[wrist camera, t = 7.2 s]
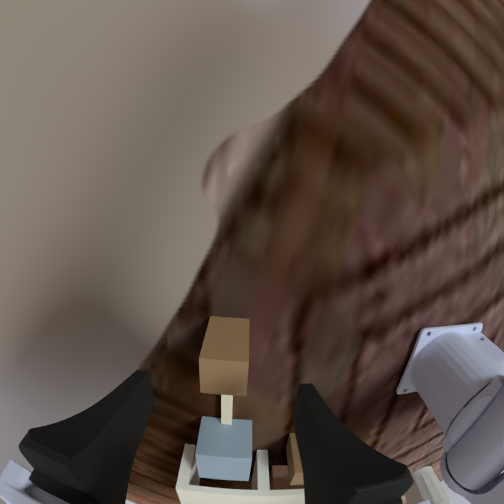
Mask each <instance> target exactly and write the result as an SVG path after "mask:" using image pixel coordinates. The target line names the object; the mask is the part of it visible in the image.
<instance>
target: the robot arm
mask: <svg viewBox="0 0 504 504" xmlns="http://www.w3.org/2000/svg"><path fill="white" fill-rule="evenodd" d="M482 327H483V324H482V323H472V324H463V325H453V326H443V327H431V328H423V329H422V330H421V331H420V332H419V335H418V338H417V341H416V343H415V346H414V349H413V351H412V354H411V357H410V359H409V362H408V364H407V367H406V369H405V371H404V374H403V376H402V378H401V381H400V383H399V385H398V387H397V390H396V392H397V394H405V393H411V392H416V391H417V392H418V393H419V395H420V396H421V398H422V399H423V401H424V402H425V404H426V406H427V407H428V409H429V410H430V412H431V413H432V415H433V417H434V418H435V420H436V421H437V423H438V425H439V426H440V428H441V429H442V431H443V433H444V434H445V436H446V438H445V439H444V441H443V442H442V443H441V444H442V446H443V447H444V449H445V452H444V454H443V455H442V457H441V463H440V466H441V473H442V477H443V479H444V481H445V483H446V484H447V486H448V487H449V488H450V489H451V490H452V491H454V492H455V493H457V494H460V495H462V496H463V497H465V498H466V499H467V500H468V501H469V502H470V503H471V504H504V472H503V473H501V472H502V471H503V470H504V352H502V351H501V350H500V349H499V348H498V347H497V346H496V345H495V344H493V343H492V342H491V341H490V340H489V339H488V338H487V337H485V336H484V335H483V334H482V333H481V330H482ZM428 332H429V333H428ZM427 333H428V334H427ZM153 404H154V397H153V392H152V387H151V382H150V377H149V372H145V371H140V370H137V371H135V372H134V373H133V374H132V375H131V376H130V377H128V378H127V379H126V380H125V381H124V382H123V383H122V384H120V385H119V386H118V387H117V388H116V389H114V391H112V392H111V393H109V394H108V395H107V396H106V397H104V398H103V399H102V400H100V401H99V402H97V403H96V404H95V405H93V406H91V407H90V408H88V409H86V410H84V411H82V412H81V413H79V414H76V415H74V416H72V417H70V418H67V419H65V420H63V421H60V422H57V423H54V424H50V425H47V426H42V427H38V428H32V429H30V430H29V431H28V433H27V434H26V435H25V437H24V438H23V440H22V441H21V443H20V444H19V449H20V452H21V453H22V454H23V456H24V457H25V458H26V459H27V461H28V462H29V463H30V464H31V465H32V467H33V468H34V470H33V472H31V471H29V470H28V469H27V468H25V467H24V466H22V465H20V464H19V463H17V462H16V461H14V460H12V459H11V460H10V461H9V463H8V464H7V466H6V468H5V469H4V471H3V473H2V474H1V476H0V498H2V499H3V500H4V501H5V502H6V503H7V504H125V500H126V494H127V488H128V483H129V478H130V473H131V469H132V465H133V461H134V457H135V454H136V451H137V448H138V446H139V443H140V441H141V438H142V436H143V433H144V431H145V429H146V426H147V424H148V421H149V419H150V415H151V412H152V408H153ZM293 421H294V431H295V436H296V441H297V445H298V450H299V455H300V459H301V464H302V470H303V481H304V496H305V504H402V499H401V496H402V495H403V494H405V493H406V492H407V491H408V490H409V489H410V487H411V486H412V485H413V482H414V480H413V478H412V475H411V473H410V471H409V469H408V468H407V466H406V465H404V464H402V463H400V462H397V461H395V460H393V459H390V458H388V457H387V456H385V455H383V454H381V453H379V452H378V451H376V450H375V449H373V448H372V447H370V446H369V445H367V444H366V443H364V442H363V441H362V440H360V439H359V438H358V437H357V436H356V435H354V434H353V433H352V432H351V431H350V430H349V429H348V428H347V427H346V426H345V425H344V424H343V423H342V422H341V421H340V420H339V419H338V417H337V416H336V415H335V414H334V413H333V412H332V410H331V409H330V408H329V407H328V405H327V404H326V403H325V401H324V400H323V399H322V397H321V396H320V394H319V393H318V391H317V390H316V388H315V387H314V385H313V384H299V387H298V392H297V396H296V400H295V405H294V409H293ZM500 473H501V474H500ZM416 504H431V503H430V501H429V499H426V500H424V501H421V502H418V503H416Z"/></svg>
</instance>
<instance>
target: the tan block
mask: <svg viewBox="0 0 504 504" xmlns="http://www.w3.org/2000/svg"><path fill="white" fill-rule="evenodd" d="M286 454H287V463H288V465H278V466H272V469H271V472H270V476H269V485H270V490H289V489H304V481H303V470H302V464H301V459H300V455H299V450H298V445H297V441H296V436H295V433H290V434H289V438H288V441H287V445H286Z"/></svg>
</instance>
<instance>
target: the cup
mask: <svg viewBox="0 0 504 504" xmlns="http://www.w3.org/2000/svg"><path fill="white" fill-rule="evenodd" d="M411 475H412V478H413V480H414V482H413V485H412V486H411V487H410V489H409V490H408V491H407V492H406V493H405V497H406V501H407V504H416V503H418V502H421V501H424V500H426V499H429V501H430V503H431V504H453V502H452V500H451V499H450V498H449V496H448V494H447V493H446V491H445V489H444V488H443V486H442V485H441V483H440V481H439V480H438V478H437V476H436V475H435V473H434V471H433V469H432V467H431V466H427V467H424V468H421V469H419V470H417V471H415V472H413V473H412V474H411Z"/></svg>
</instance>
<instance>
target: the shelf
mask: <svg viewBox="0 0 504 504" xmlns="http://www.w3.org/2000/svg"><path fill="white" fill-rule="evenodd" d="M195 452H196V445H193V444H186V443H185V446H184V451H183V456H182V460H181V465H180V470H179V474H178V479H177V484H176V491H177V494H178V496H179V499H180V502H181V504H305V496H304V489H289V490H270V485H269V465H268V450H257V454H256V460H255V465H254V471H253V477H252V490H240V489H224V488H213V487H204V486H199V481H200V477H199V475H198V469H197V462H196V456H195Z"/></svg>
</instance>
